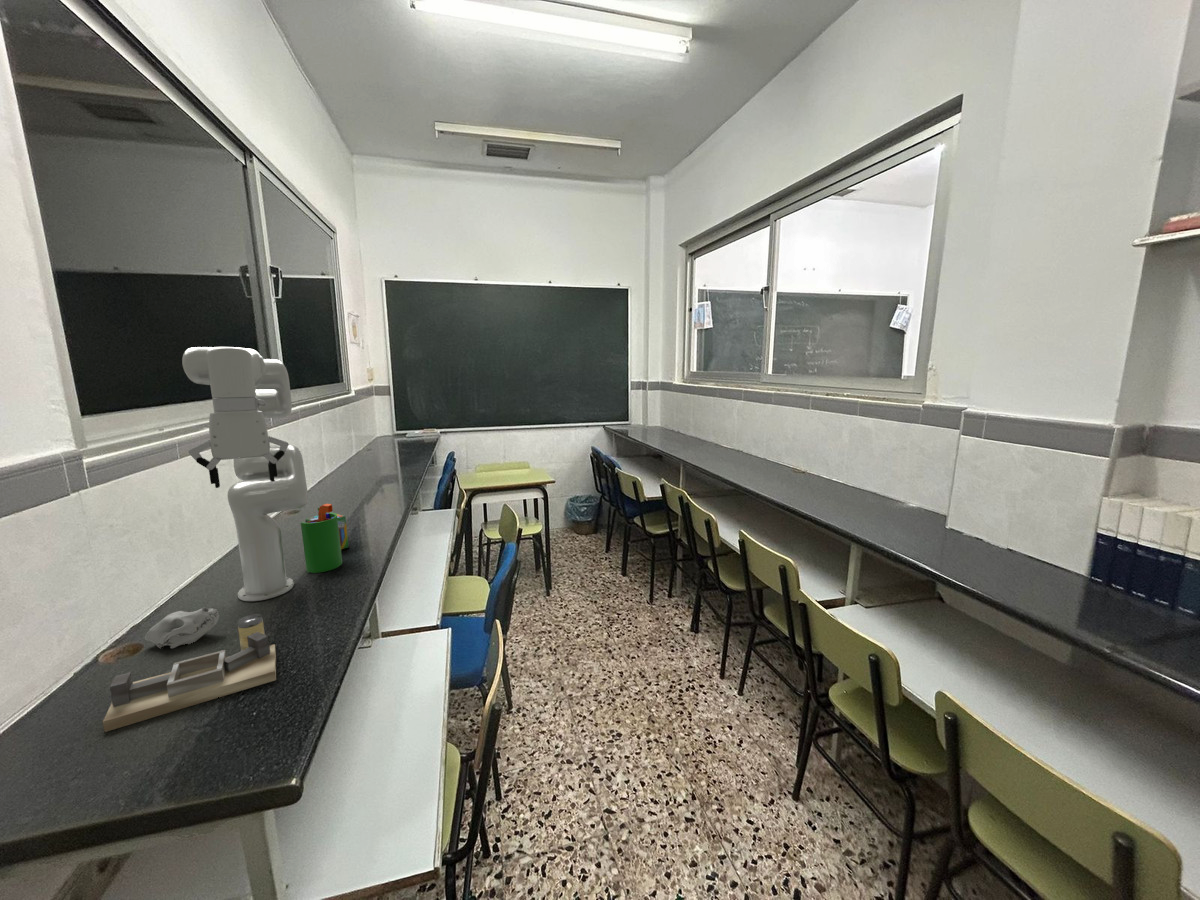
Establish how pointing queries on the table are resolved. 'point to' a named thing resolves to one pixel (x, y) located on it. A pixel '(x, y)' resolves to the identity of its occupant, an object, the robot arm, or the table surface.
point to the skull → (182, 627)
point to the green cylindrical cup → (322, 541)
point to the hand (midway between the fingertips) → (245, 483)
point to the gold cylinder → (249, 628)
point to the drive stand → (191, 683)
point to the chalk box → (341, 527)
